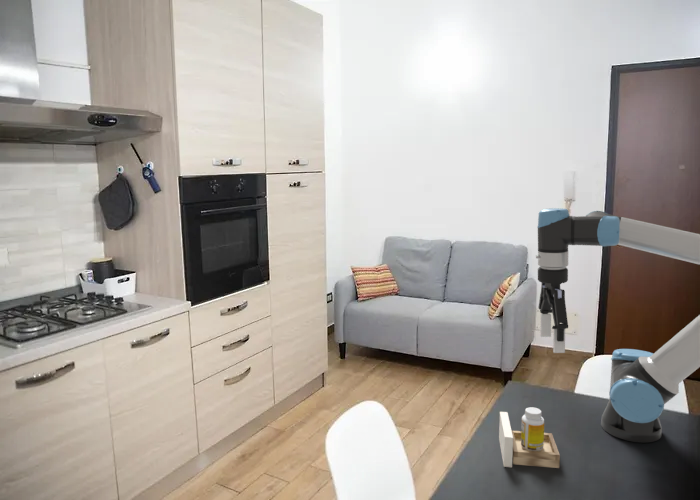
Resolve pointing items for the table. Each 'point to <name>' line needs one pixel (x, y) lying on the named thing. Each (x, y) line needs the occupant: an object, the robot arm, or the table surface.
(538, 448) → the supplement bottle
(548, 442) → the beige shadow box
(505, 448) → the backstop
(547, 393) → the table surface
